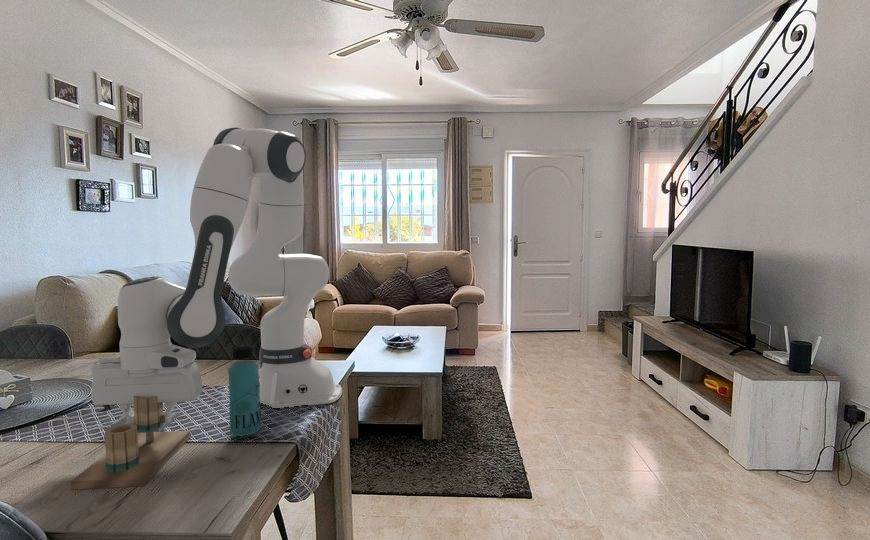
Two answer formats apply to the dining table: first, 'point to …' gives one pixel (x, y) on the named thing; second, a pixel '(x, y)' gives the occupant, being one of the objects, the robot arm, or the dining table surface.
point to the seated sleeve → (121, 447)
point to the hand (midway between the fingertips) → (149, 422)
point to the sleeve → (147, 413)
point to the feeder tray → (124, 421)
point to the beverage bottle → (244, 393)
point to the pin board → (152, 457)
